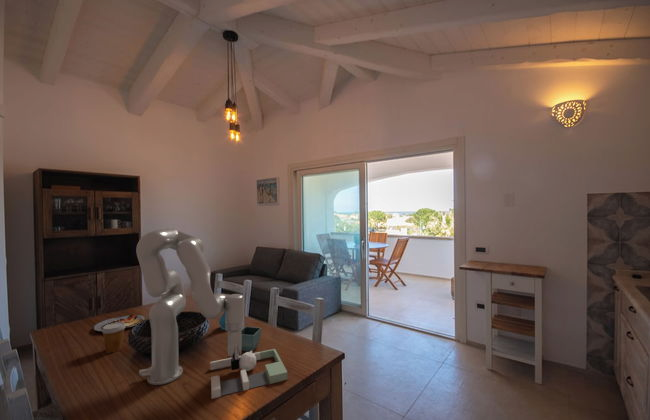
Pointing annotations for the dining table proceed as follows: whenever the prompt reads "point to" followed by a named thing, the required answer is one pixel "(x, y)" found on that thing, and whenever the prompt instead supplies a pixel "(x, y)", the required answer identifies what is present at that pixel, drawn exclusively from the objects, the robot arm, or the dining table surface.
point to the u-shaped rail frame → (245, 382)
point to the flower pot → (250, 338)
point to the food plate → (128, 321)
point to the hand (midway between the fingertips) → (235, 368)
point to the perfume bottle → (222, 321)
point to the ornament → (247, 361)
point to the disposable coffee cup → (113, 336)
